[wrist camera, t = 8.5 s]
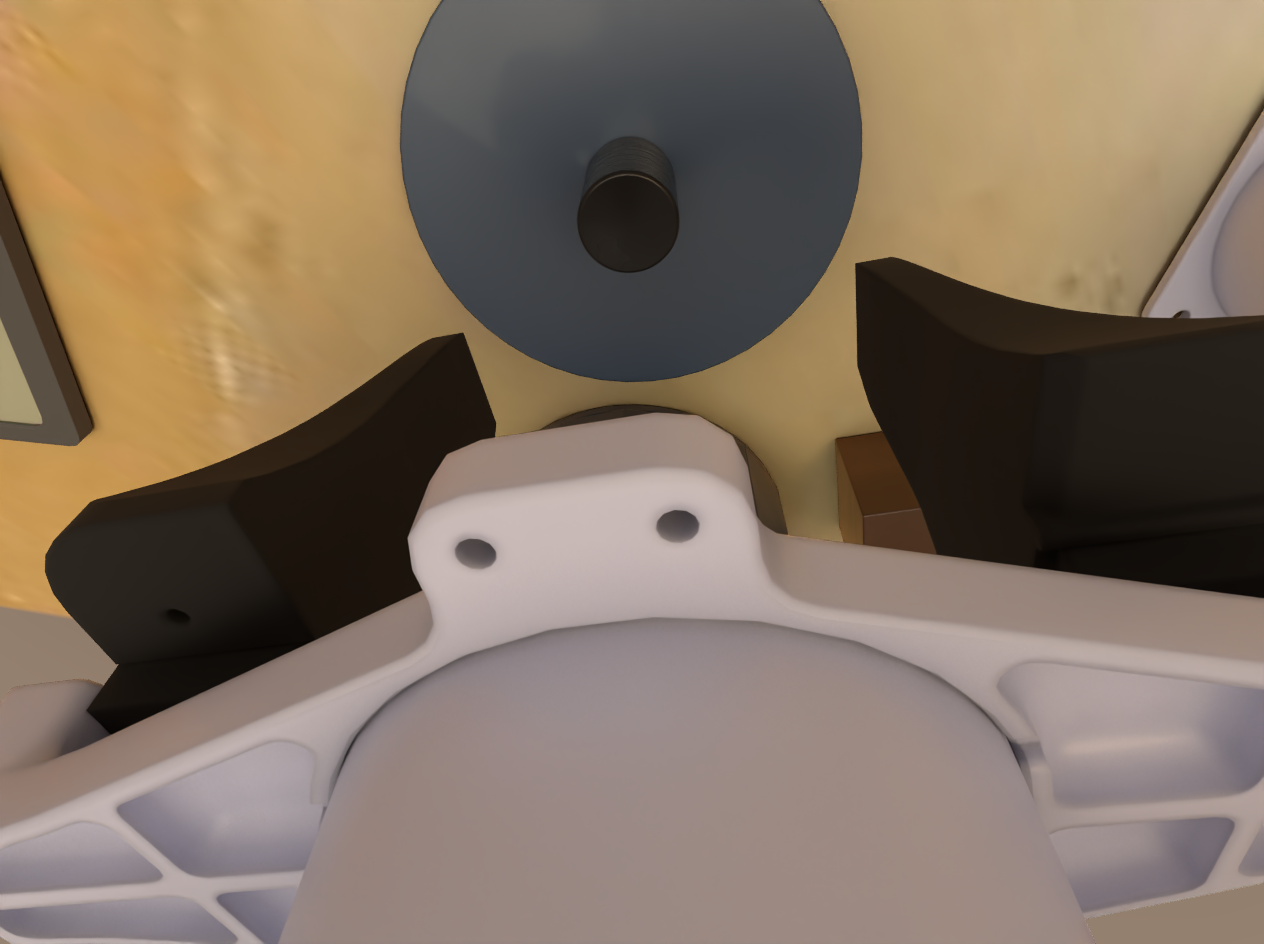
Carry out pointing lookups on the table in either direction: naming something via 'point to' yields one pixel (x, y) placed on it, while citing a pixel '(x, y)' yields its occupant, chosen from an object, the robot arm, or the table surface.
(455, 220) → the lid
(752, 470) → the pot
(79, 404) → the calculator
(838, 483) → the block
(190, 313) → the table surface
